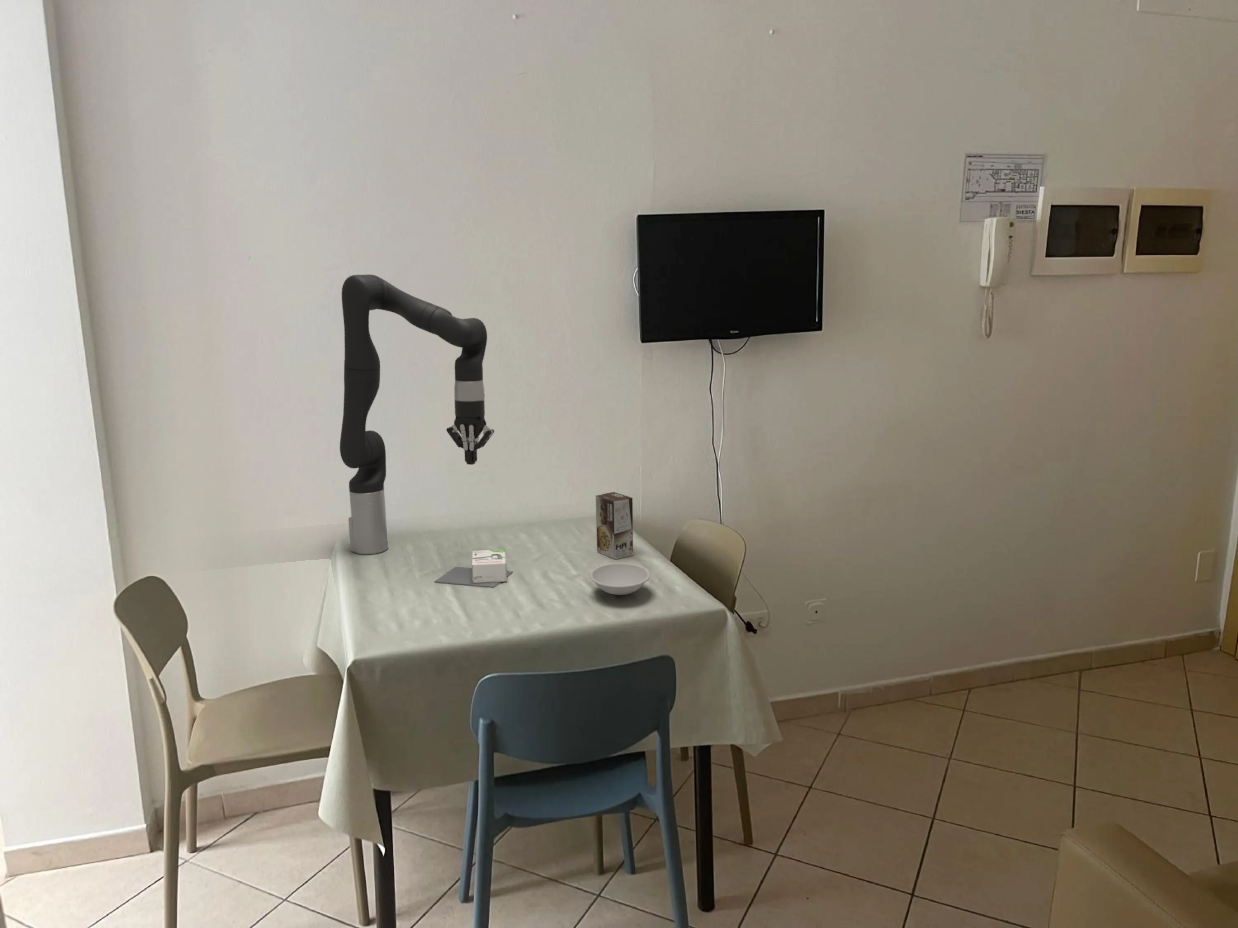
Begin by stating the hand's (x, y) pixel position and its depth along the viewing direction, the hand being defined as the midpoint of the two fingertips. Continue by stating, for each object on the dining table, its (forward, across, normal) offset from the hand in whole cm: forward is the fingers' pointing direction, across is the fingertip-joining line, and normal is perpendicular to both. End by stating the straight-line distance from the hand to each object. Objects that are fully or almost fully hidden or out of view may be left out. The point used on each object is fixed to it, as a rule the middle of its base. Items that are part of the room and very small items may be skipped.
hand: (471, 463), depth 238 cm
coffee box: (+26, +34, +17) cm, 46 cm away
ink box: (+24, +6, -3) cm, 25 cm away
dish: (+26, +44, -13) cm, 53 cm away
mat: (+27, +5, -11) cm, 29 cm away
